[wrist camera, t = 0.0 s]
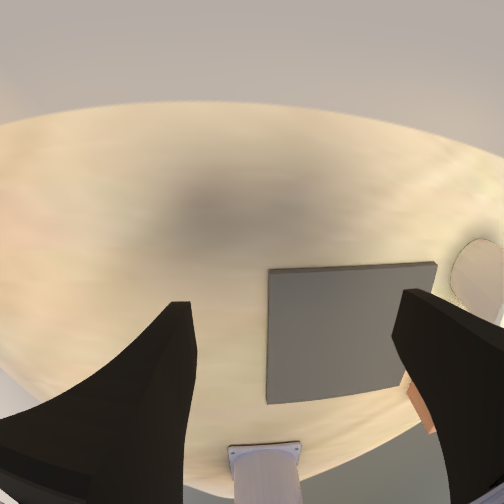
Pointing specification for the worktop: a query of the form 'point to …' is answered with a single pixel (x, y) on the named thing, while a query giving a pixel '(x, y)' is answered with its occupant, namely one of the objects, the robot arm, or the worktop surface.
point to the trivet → (336, 329)
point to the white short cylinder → (481, 280)
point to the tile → (421, 408)
